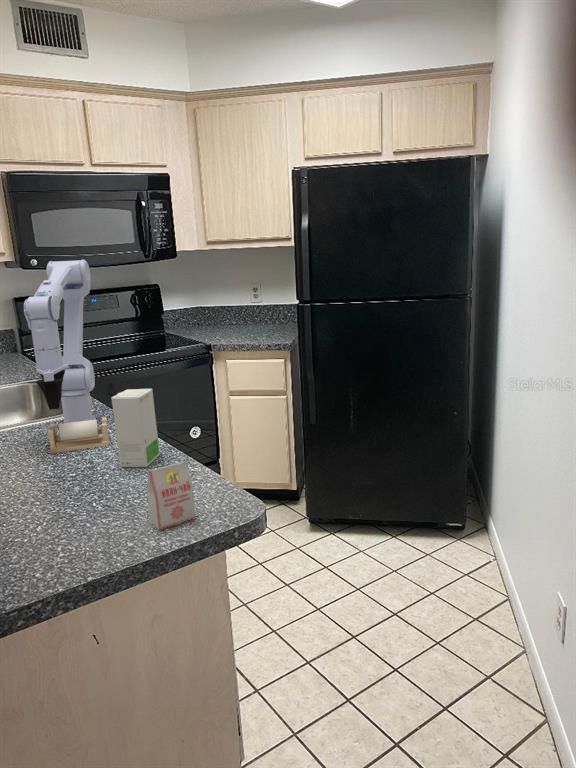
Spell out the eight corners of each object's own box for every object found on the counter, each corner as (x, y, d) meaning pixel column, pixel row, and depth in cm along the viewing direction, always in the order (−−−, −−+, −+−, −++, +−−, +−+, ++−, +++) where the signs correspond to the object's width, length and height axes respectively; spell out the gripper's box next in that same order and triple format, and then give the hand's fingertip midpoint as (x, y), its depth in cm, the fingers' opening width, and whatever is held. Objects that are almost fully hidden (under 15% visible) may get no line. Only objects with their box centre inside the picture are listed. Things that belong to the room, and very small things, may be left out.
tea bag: (150, 522, 103) (144, 467, 101) (186, 511, 107) (181, 458, 104) (158, 530, 100) (152, 474, 98) (195, 518, 104) (190, 464, 101)
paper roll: (60, 447, 141) (57, 428, 140) (61, 439, 145) (58, 421, 144) (99, 442, 143) (97, 423, 142) (100, 434, 148) (97, 416, 146)
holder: (53, 442, 147) (50, 423, 146) (108, 435, 151) (106, 416, 149) (50, 453, 140) (47, 432, 138) (108, 445, 143) (106, 425, 142)
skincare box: (146, 468, 128) (139, 397, 124) (117, 468, 129) (108, 397, 125) (160, 454, 136) (154, 387, 132) (133, 454, 137) (125, 387, 133)
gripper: (64, 351, 133) (72, 410, 137) (66, 341, 147) (74, 395, 150) (30, 354, 131) (39, 414, 135) (36, 344, 145) (44, 398, 148)
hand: (55, 404), depth 142 cm, fingers open, 7 cm apart
